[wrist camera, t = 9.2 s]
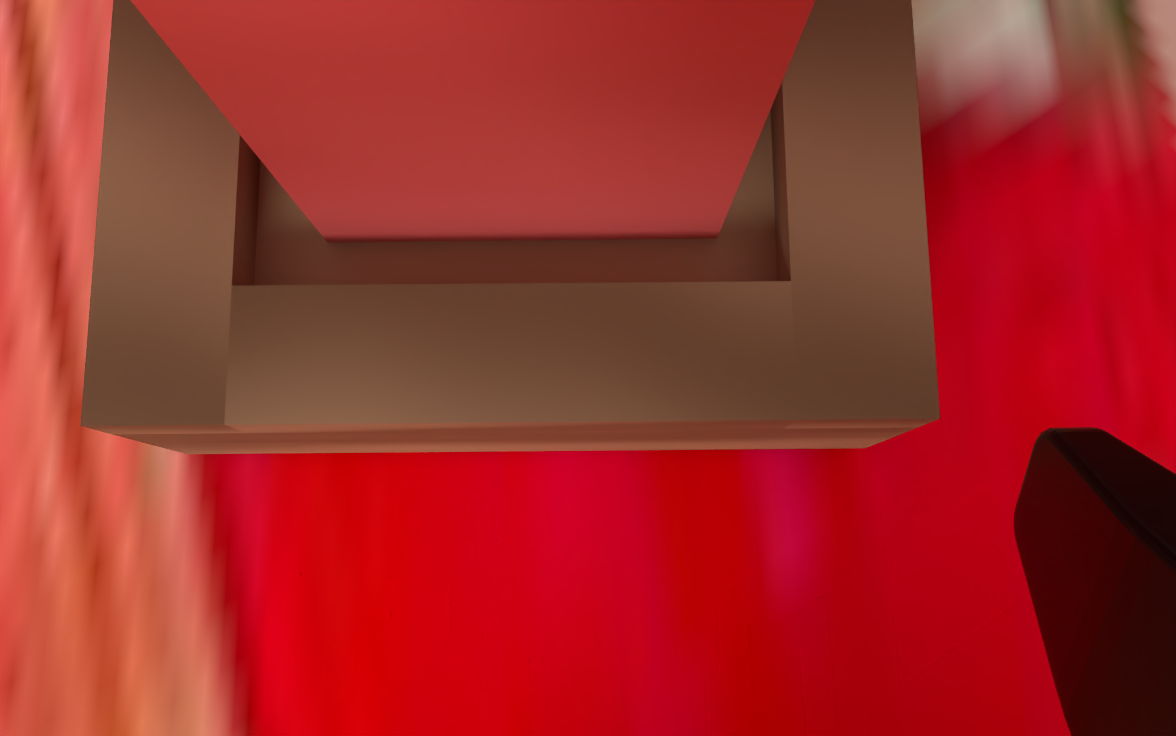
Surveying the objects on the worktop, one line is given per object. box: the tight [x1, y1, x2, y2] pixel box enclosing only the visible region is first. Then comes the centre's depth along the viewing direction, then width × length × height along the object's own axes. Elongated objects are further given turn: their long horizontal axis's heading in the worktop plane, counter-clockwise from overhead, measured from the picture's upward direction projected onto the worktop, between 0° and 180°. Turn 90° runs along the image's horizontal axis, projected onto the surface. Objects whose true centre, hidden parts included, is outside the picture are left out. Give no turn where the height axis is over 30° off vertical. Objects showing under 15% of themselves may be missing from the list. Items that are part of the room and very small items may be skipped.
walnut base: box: [81, 0, 940, 454], centre depth 18 cm, size 12×12×4 cm
